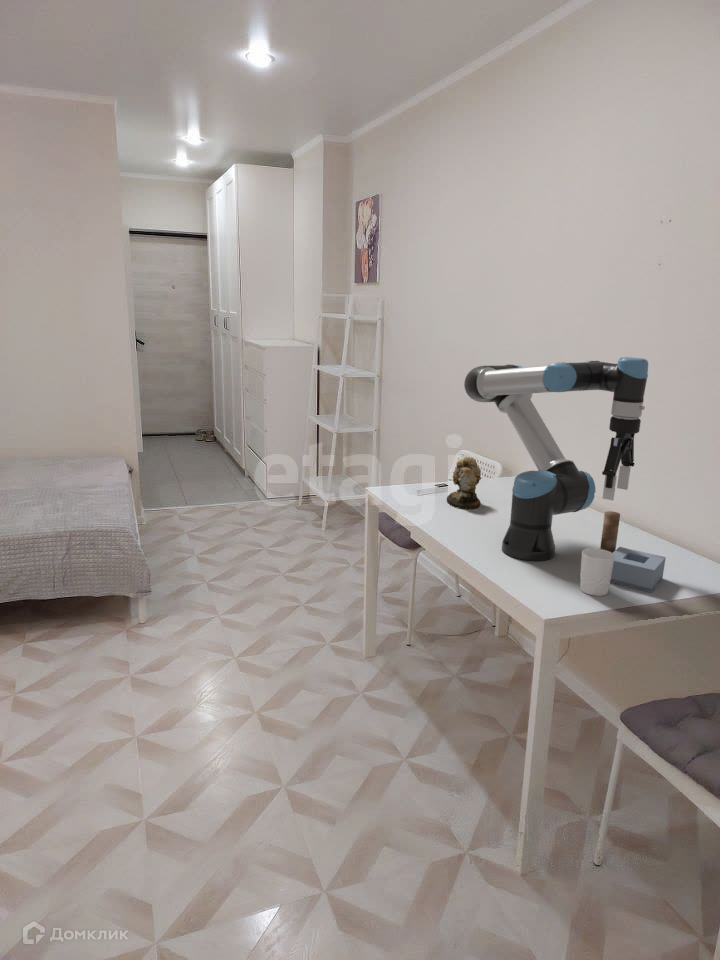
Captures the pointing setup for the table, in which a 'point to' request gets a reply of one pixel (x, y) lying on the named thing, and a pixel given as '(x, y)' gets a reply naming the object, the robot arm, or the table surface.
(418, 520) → the table surface
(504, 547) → the robot arm
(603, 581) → the white cup
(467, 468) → the brown stone bust
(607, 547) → the walnut dowel
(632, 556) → the socket block
